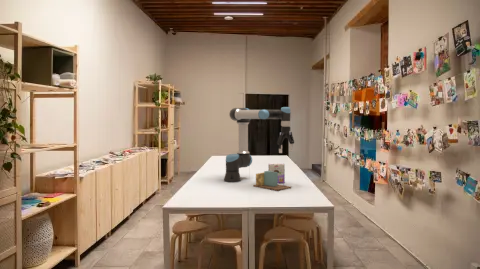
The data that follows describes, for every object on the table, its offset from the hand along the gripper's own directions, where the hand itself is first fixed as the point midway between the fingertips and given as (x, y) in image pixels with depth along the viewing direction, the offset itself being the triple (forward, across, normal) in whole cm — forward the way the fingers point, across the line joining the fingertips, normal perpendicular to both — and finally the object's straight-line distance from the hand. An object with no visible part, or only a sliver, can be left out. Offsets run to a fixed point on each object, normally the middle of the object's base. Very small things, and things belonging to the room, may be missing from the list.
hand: (285, 152), depth 293 cm
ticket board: (+28, -11, +5) cm, 30 cm away
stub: (+26, -11, +6) cm, 29 cm away
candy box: (+28, +7, +15) cm, 33 cm away
